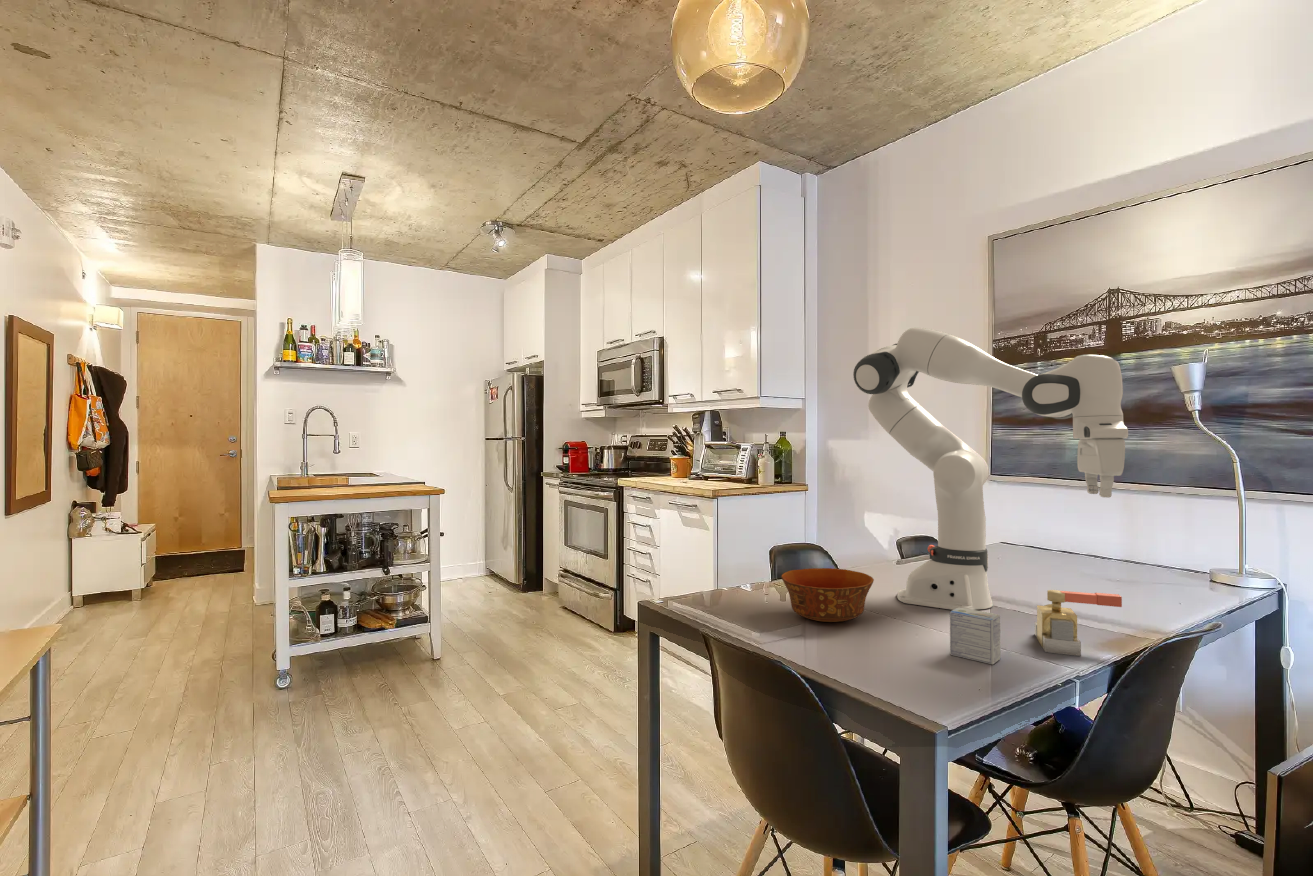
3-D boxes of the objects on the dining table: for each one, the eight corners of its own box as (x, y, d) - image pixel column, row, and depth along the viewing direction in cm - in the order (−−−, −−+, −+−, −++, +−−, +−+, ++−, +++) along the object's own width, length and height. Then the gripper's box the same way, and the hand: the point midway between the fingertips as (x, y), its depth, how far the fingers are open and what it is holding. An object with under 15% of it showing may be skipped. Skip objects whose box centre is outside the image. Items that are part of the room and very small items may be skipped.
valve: (1080, 656, 122) (1080, 610, 122) (1045, 652, 125) (1045, 607, 125) (1067, 637, 134) (1067, 596, 134) (1034, 634, 136) (1034, 593, 136)
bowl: (793, 633, 137) (793, 586, 137) (772, 606, 158) (772, 567, 158) (888, 632, 138) (888, 586, 138) (854, 606, 159) (854, 566, 159)
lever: (1048, 601, 128) (1048, 591, 128) (1046, 598, 131) (1046, 588, 131) (1122, 608, 124) (1122, 597, 124) (1117, 604, 127) (1117, 593, 127)
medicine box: (1001, 660, 120) (1001, 614, 120) (993, 666, 117) (993, 619, 117) (958, 650, 126) (958, 606, 126) (949, 655, 123) (949, 610, 123)
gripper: (1068, 431, 145) (1069, 491, 145) (1093, 429, 126) (1094, 499, 126) (1101, 431, 143) (1102, 492, 143) (1131, 429, 124) (1132, 499, 124)
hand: (1098, 495), depth 134 cm, fingers open, 8 cm apart
